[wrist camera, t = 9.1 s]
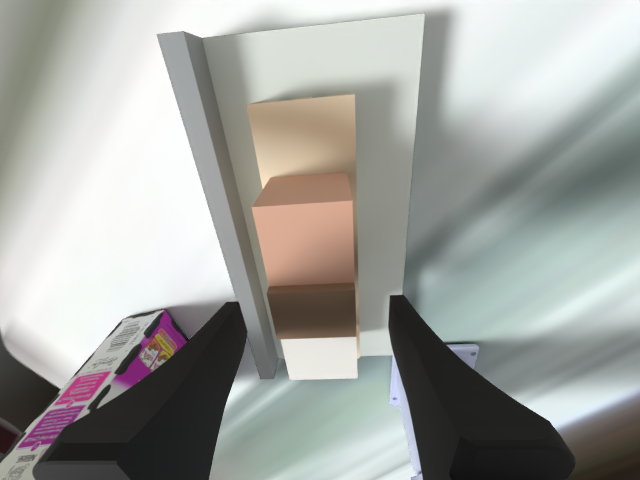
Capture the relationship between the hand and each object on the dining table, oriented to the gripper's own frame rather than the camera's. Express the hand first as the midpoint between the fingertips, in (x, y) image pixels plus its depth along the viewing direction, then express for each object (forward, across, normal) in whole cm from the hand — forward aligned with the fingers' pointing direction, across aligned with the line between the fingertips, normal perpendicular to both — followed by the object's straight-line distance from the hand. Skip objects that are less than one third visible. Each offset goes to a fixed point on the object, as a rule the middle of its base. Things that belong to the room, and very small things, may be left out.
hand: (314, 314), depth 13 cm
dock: (+9, 0, 0) cm, 9 cm away
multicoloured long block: (+7, 0, 0) cm, 7 cm away
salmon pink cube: (+4, 0, -4) cm, 6 cm away
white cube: (+4, 0, +4) cm, 6 cm away
